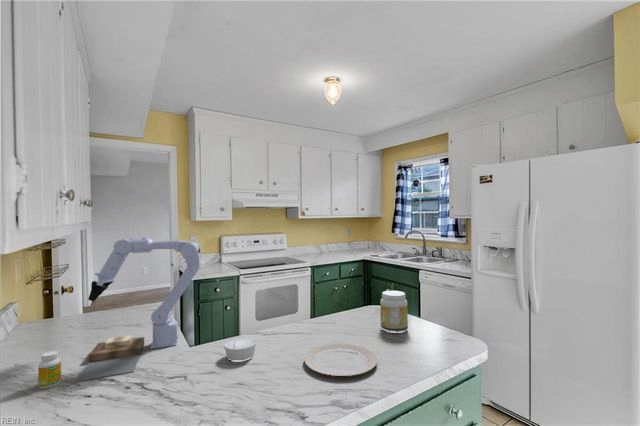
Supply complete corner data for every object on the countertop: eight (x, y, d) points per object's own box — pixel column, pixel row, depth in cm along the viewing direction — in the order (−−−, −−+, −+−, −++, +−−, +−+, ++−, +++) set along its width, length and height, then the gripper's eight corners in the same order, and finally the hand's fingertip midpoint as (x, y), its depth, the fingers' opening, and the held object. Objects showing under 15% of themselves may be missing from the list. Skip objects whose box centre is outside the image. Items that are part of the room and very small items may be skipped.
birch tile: (132, 340, 127) (132, 335, 127) (129, 345, 121) (129, 340, 122) (109, 343, 124) (109, 338, 124) (105, 348, 118) (105, 343, 118)
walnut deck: (144, 344, 130) (144, 336, 130) (139, 355, 119) (139, 347, 119) (98, 350, 124) (98, 343, 124) (89, 363, 113) (89, 354, 113)
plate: (338, 343, 129) (337, 338, 129) (391, 363, 111) (391, 357, 111) (289, 363, 111) (289, 358, 111) (344, 391, 93) (343, 384, 93)
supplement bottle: (47, 390, 95) (47, 357, 96) (33, 388, 96) (33, 356, 97) (65, 381, 101) (65, 350, 101) (51, 379, 102) (52, 349, 102)
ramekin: (218, 358, 116) (218, 343, 117) (244, 348, 125) (244, 335, 125) (235, 367, 109) (235, 352, 109) (261, 357, 117) (261, 342, 117)
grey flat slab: (139, 355, 119) (139, 354, 119) (133, 372, 106) (133, 371, 106) (88, 363, 113) (88, 362, 113) (75, 381, 100) (75, 380, 100)
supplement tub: (380, 325, 151) (379, 289, 151) (406, 326, 149) (405, 290, 149) (381, 334, 138) (380, 295, 139) (409, 335, 137) (409, 296, 137)
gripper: (106, 259, 132) (89, 288, 130) (96, 266, 119) (76, 299, 117) (124, 265, 135) (107, 294, 133) (116, 273, 121) (97, 306, 119)
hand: (94, 297), depth 125 cm, fingers open, 7 cm apart
